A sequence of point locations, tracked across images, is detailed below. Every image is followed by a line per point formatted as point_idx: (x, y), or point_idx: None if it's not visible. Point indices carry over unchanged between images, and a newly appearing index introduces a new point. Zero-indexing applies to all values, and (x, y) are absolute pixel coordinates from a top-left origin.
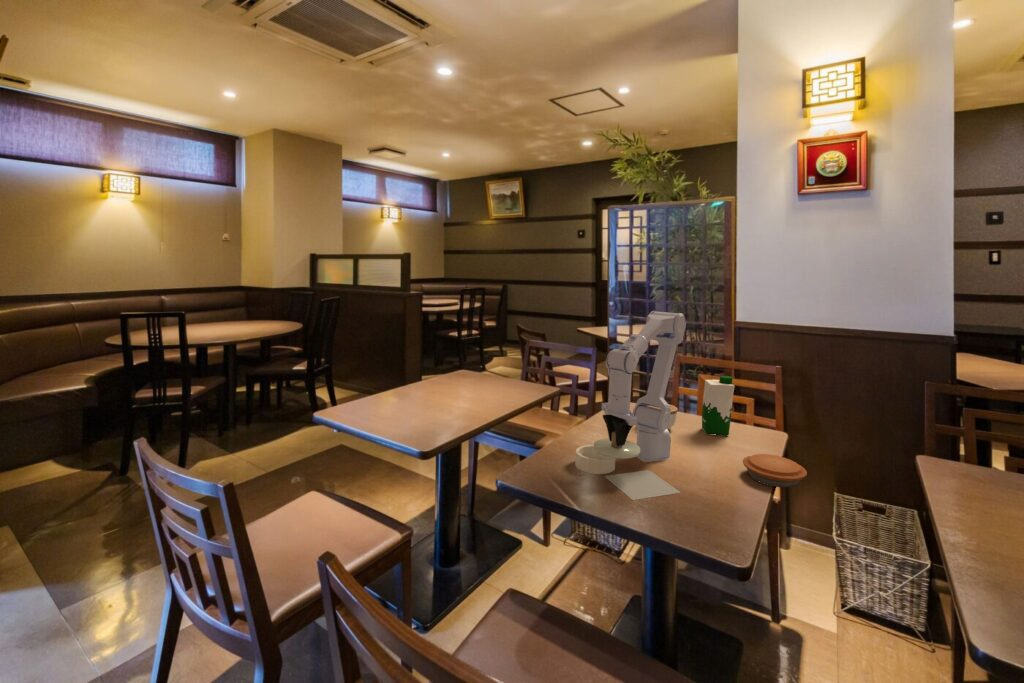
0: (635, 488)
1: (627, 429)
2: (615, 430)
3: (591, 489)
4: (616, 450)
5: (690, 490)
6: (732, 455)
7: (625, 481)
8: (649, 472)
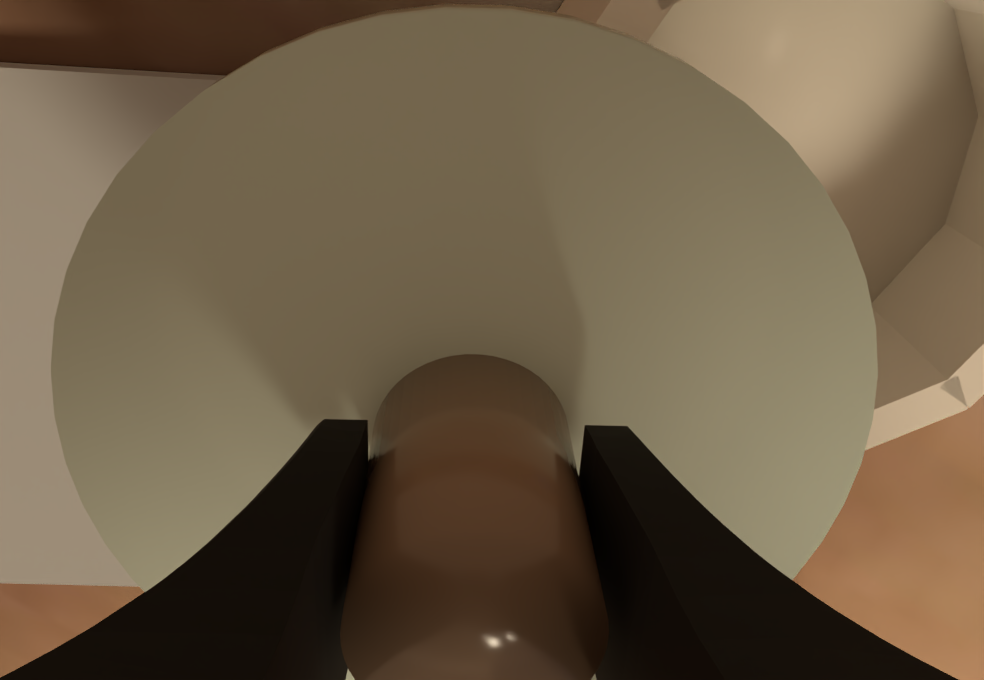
0: (56, 253)
1: None
2: (275, 596)
3: None
4: (307, 344)
5: (7, 668)
6: None
7: None
8: None
